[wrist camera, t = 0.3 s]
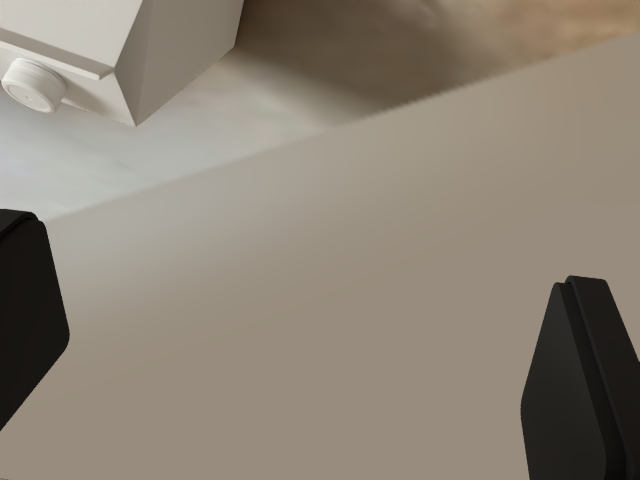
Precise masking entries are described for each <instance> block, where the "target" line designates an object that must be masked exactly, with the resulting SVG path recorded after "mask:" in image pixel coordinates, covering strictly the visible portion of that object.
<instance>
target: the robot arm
mask: <svg viewBox="0 0 640 480" xmlns="http://www.w3.org/2000/svg"><path fill="white" fill-rule="evenodd" d="M69 336H70V333H69V327H68V322H67V318H66V314H65V310H64V305H63V301H62V296H61V292H60V288H59V283H58V279H57V274H56V270H55V265H54V261H53V257H52V252H51V248H50V244H49V239H48V235H47V230H46V227H45V225H44V223H43V222H41V221H39V220H38V218H37V217H36V215H35V214H34V213H32V212H27V211H18V210H10V209H0V431H1V430H2V428H3V427H4V426H5V425H6V423H7V422H8V421H9V420H10V418H11V417H12V416H13V414H14V413H15V412H16V411H17V409H18V408H19V407H20V406H21V405H22V403H23V402H24V401H25V400H26V398H27V397H28V396H29V395H30V393H31V392H32V391H33V389H34V388H35V387H36V385H38V383H39V382H40V380H42V378H43V377H44V376H45V374H46V373H47V372H48V371H49V370H50V368H51V367H52V366H53V364H54V363H55V362H56V361H57V359H58V358H59V357H60V356H61V354H62V353H63V352H64V351H65V349H66V347H67V345H68V342H69ZM521 422H522V428H523V436H524V443H525V449H526V457H527V464H528V471H529V478H530V480H640V362H639V360H638V358H637V355H636V353H635V350H634V348H633V345H632V343H631V340H630V338H629V336H628V333H627V331H626V328H625V326H624V323H623V321H622V318H621V316H620V313H619V311H618V308H617V306H616V303H615V301H614V299H613V296H612V294H611V292H610V289H609V286H608V284H607V282H606V281H605V280H603V279H596V278H588V277H579V276H571V275H570V276H568V277H567V279H566V281H565V283H558V282H557V283H555V284H554V285H553V288H552V291H551V294H550V298H549V302H548V305H547V309H546V312H545V316H544V320H543V323H542V327H541V330H540V334H539V338H538V341H537V345H536V348H535V352H534V355H533V359H532V363H531V367H530V370H529V373H528V377H527V381H526V384H525V388H524V391H523V395H522V400H521ZM0 480H7V479H2V478H0Z"/></svg>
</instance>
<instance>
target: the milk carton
mask: <svg viewBox="0 0 640 480" xmlns="http://www.w3.org/2000/svg"><path fill="white" fill-rule="evenodd" d="M243 2H244V0H0V80H1V81H2V86H3V88H4V89H5V90H6V92H7V93H8V94H9V95H10V96H12V97H13V98H14V99H16V100H17V101H18V102H20V103H22V104H24V105H26V106H28V107H30V108H32V109H35V110H38V111H41V112H45V113H54V112H56V111H57V109H58V107H59V105H60V103H61V102H64V103H66V104H69V105H72V106H75V107H78V108H81V109H84V110H86V111H89V112H92V113H95V114H98V115H100V116H103V117H106V118H109V119H112V120H115V121H118V122H121V123H124V124H127V125H130V126H133V127H137V126H138V125H139V124H141V123H142V122H143V121H144V120H146V119H147V118H148V117H149V116H151V115H152V114H153V113H154V112H155V111H157V110H158V109H159V108H160V107H162V106H163V105H164V104H165V103H166V102H168V101H169V100H170V99H171V98H172V97H174V96H175V95H176V94H177V93H179V92H180V91H181V90H182V89H183V88H185V87H186V86H187V85H188V84H189V83H191V82H192V81H193V80H194V79H196V78H197V77H198V76H199V75H200V74H202V73H203V72H204V71H205V70H206V69H208V68H209V67H210V66H211V65H213V64H214V63H215V62H216V61H217V60H219V59H220V58H221V57H222V56H223V55H225V54H226V53H227V52H228V51H230V50H231V49H232V48H233V47H234V44H235V40H236V35H237V30H238V26H239V21H240V16H241V12H242V7H243Z"/></svg>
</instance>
